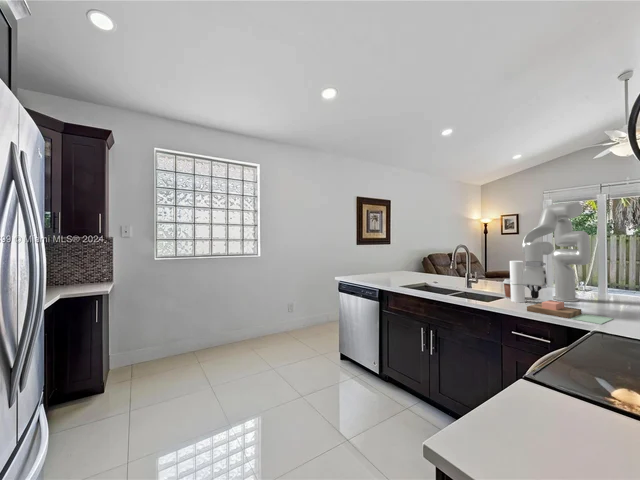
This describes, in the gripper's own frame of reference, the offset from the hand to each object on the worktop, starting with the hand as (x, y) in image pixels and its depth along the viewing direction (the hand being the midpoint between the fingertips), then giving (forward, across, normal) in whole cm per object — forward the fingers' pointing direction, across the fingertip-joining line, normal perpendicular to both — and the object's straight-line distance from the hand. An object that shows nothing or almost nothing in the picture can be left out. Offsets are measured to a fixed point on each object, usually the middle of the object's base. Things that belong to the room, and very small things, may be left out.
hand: (534, 298), depth 154 cm
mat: (+6, -23, -1) cm, 24 cm away
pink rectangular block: (+2, -8, 0) cm, 8 cm away
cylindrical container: (+6, +16, -15) cm, 23 cm away
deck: (+6, -8, -1) cm, 10 cm away
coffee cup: (+6, +24, -23) cm, 34 cm away
